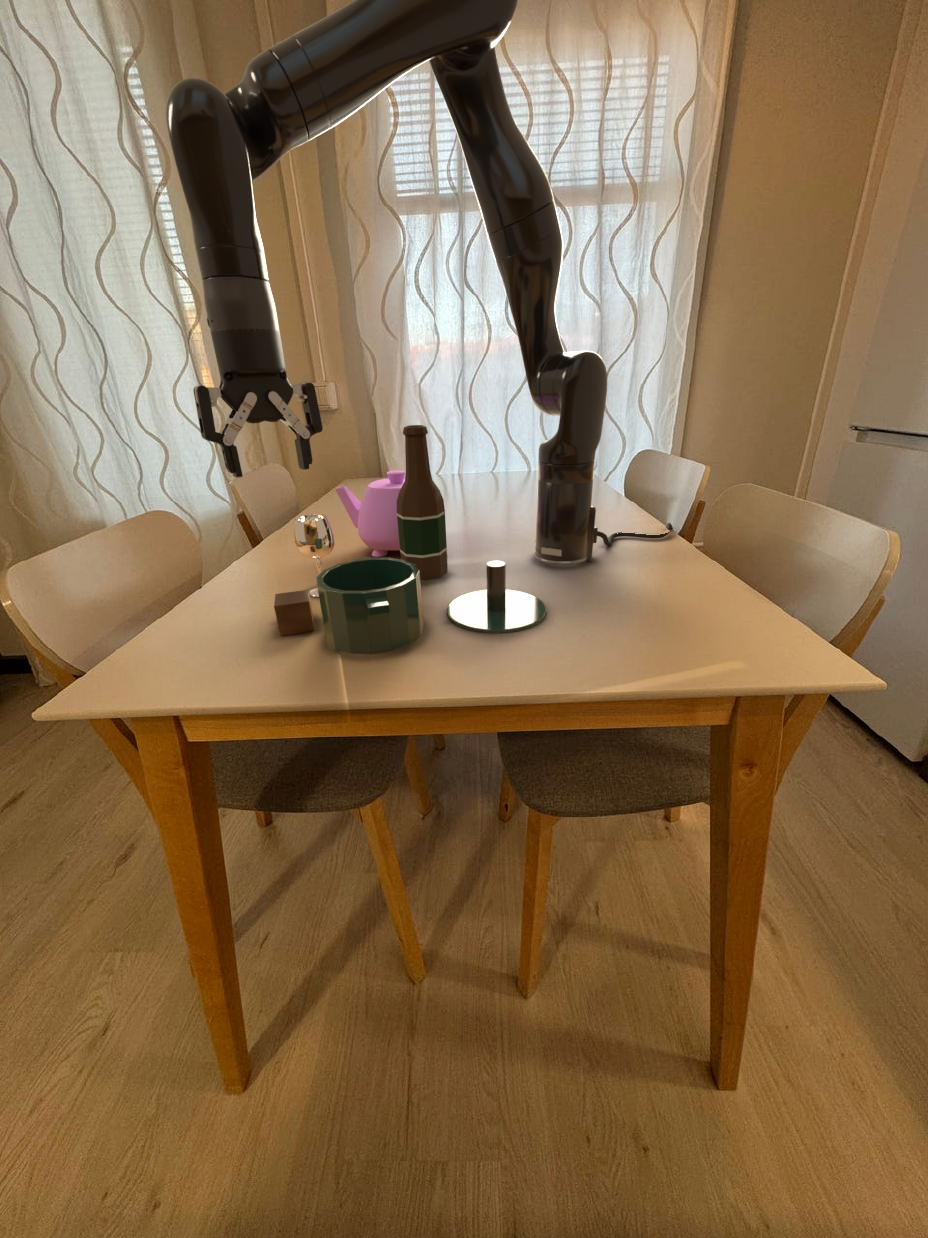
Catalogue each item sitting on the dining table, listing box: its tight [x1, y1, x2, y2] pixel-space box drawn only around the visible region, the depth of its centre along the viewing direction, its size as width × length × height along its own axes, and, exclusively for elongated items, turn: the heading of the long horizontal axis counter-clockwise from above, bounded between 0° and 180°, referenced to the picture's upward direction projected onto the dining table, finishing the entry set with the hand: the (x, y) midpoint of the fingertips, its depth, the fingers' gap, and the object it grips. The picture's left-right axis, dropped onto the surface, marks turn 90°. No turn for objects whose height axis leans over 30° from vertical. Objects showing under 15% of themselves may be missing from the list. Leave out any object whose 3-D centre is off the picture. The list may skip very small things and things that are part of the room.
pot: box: [315, 556, 425, 655], centre depth 64 cm, size 13×18×8 cm
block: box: [273, 589, 315, 637], centre depth 68 cm, size 4×4×4 cm
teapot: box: [335, 469, 406, 558], centre depth 98 cm, size 20×20×15 cm
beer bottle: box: [397, 424, 448, 582], centre depth 80 cm, size 8×8×24 cm
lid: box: [447, 560, 547, 634], centre depth 69 cm, size 14×14×8 cm
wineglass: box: [294, 513, 335, 598], centre depth 78 cm, size 6×6×12 cm
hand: (272, 472), depth 65 cm, fingers open, 8 cm apart
